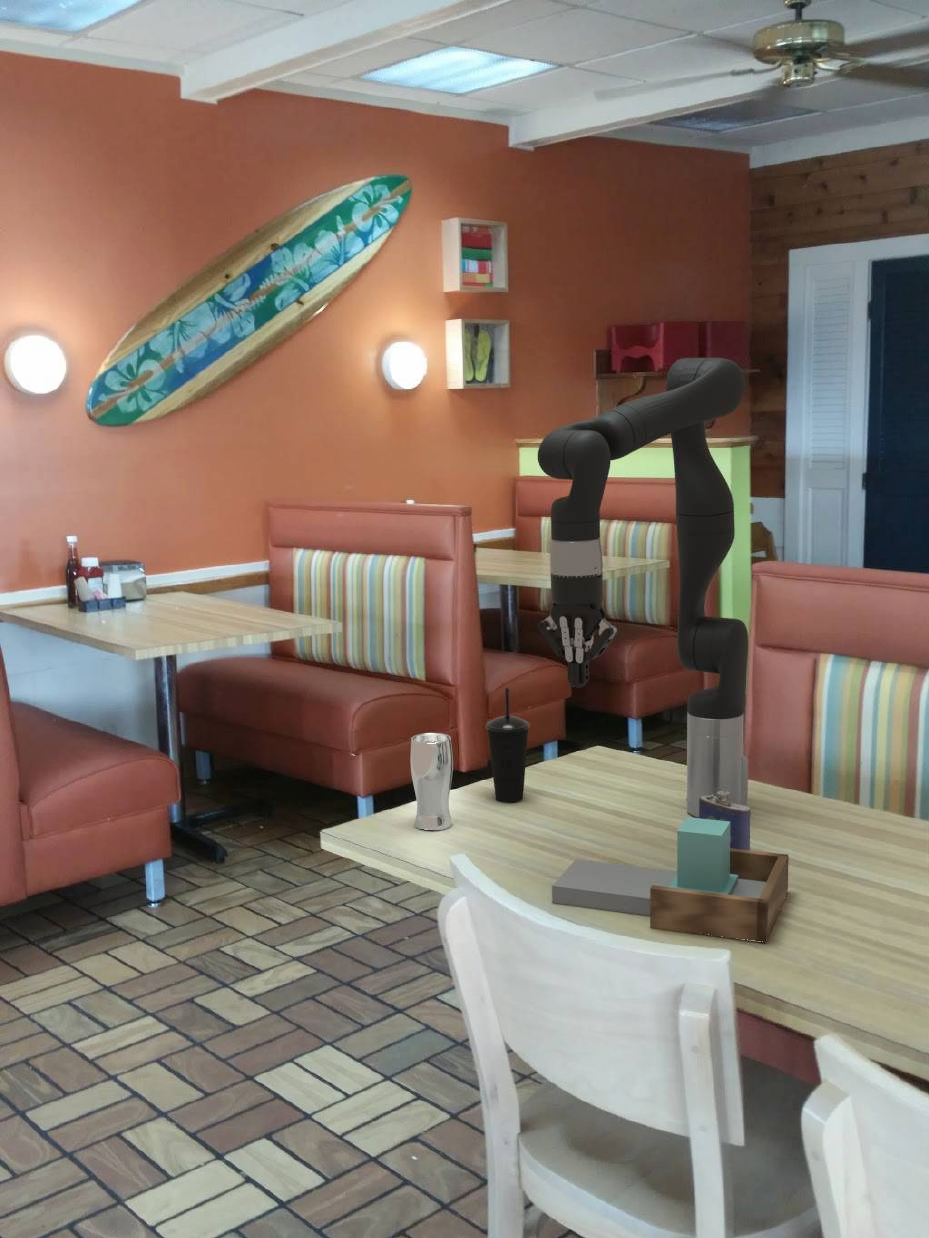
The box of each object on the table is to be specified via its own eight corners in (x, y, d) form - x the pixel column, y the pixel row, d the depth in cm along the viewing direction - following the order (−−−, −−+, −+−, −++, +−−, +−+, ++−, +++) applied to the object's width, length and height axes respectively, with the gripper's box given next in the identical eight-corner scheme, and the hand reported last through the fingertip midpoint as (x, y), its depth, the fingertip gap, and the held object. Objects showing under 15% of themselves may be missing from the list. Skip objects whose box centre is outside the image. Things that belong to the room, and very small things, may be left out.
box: (650, 927, 171) (650, 888, 170) (681, 878, 188) (682, 842, 187) (765, 943, 166) (766, 903, 165) (787, 891, 182) (788, 854, 181)
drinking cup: (485, 793, 230) (482, 684, 226) (527, 791, 231) (526, 682, 227) (489, 806, 223) (487, 694, 219) (533, 804, 223) (531, 692, 220)
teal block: (668, 895, 176) (668, 832, 174) (681, 874, 183) (682, 814, 181) (726, 902, 173) (727, 838, 171) (738, 881, 180) (739, 820, 178)
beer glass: (449, 833, 210) (447, 744, 207) (408, 831, 211) (405, 742, 209) (458, 819, 216) (456, 732, 214) (418, 817, 218) (415, 731, 215)
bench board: (552, 902, 180) (552, 885, 180) (576, 874, 190) (575, 858, 190) (753, 929, 170) (753, 912, 169) (767, 899, 180) (767, 882, 179)
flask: (753, 864, 193) (754, 795, 191) (741, 869, 191) (741, 800, 189) (704, 849, 200) (705, 782, 198) (692, 853, 198) (692, 786, 196)
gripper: (523, 570, 186) (527, 686, 190) (604, 576, 179) (606, 697, 182) (550, 563, 192) (552, 675, 196) (629, 568, 185) (631, 685, 188)
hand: (578, 685), depth 189 cm, fingers closed
